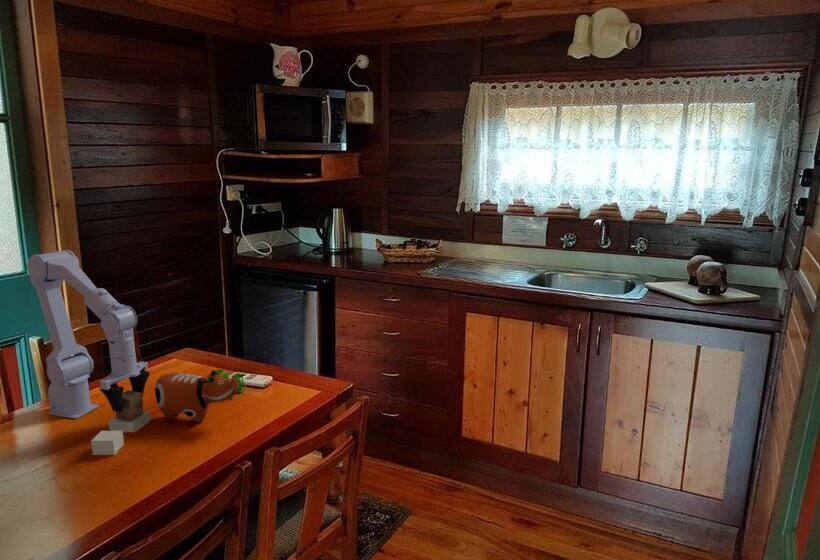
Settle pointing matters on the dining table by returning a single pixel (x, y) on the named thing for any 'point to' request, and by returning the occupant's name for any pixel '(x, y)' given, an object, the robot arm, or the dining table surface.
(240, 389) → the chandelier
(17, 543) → the dining table surface
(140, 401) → the walnut block
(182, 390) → the toy
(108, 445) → the cream block
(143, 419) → the sage slab
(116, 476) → the dining table surface
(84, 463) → the dining table surface
